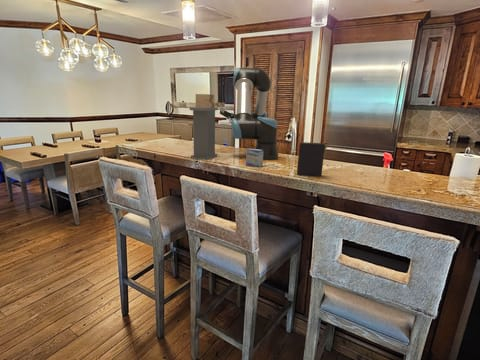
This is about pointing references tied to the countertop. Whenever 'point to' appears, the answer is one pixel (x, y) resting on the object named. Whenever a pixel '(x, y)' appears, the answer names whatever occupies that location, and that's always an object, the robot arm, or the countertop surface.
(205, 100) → the mallet
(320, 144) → the dark upright panel
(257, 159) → the medicine box
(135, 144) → the countertop surface
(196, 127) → the grey tall block
